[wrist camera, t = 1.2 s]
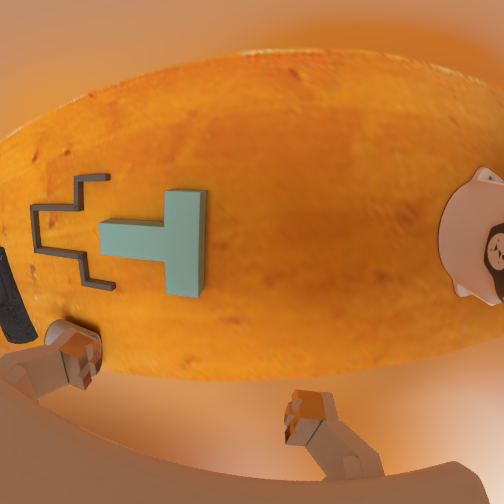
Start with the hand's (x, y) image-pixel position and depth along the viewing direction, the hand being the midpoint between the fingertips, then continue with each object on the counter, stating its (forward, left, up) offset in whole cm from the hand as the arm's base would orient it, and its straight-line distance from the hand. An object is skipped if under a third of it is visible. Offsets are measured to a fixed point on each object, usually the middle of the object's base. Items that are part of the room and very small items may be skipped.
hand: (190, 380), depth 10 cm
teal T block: (+11, +1, -23) cm, 26 cm away
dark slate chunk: (+50, +16, -24) cm, 58 cm away
